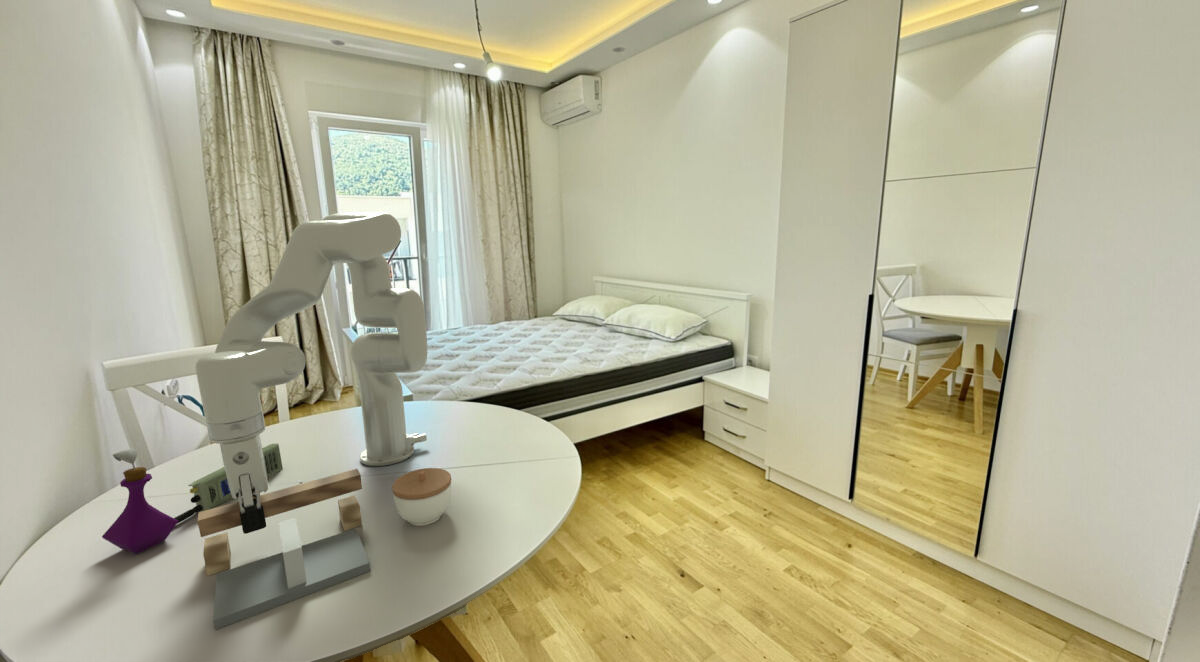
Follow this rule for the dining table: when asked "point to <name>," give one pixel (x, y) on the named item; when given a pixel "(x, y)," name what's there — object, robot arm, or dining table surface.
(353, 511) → the bar rest
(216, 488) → the handheld radio
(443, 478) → the lidded jar
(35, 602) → the dining table surface
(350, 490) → the walnut bar
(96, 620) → the dining table surface
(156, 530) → the purple potion bottle
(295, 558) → the stand
